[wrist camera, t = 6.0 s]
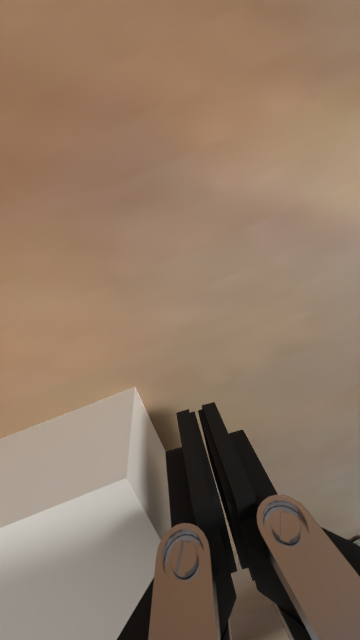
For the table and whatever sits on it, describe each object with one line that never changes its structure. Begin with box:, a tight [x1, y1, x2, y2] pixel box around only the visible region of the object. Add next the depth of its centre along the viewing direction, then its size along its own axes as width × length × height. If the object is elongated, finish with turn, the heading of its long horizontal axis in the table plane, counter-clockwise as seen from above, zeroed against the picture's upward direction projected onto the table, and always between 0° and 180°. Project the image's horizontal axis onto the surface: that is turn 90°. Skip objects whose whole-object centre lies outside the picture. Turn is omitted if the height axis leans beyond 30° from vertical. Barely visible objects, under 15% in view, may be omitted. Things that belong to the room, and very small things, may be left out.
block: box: [0, 387, 171, 640], centre depth 10 cm, size 10×7×5 cm
